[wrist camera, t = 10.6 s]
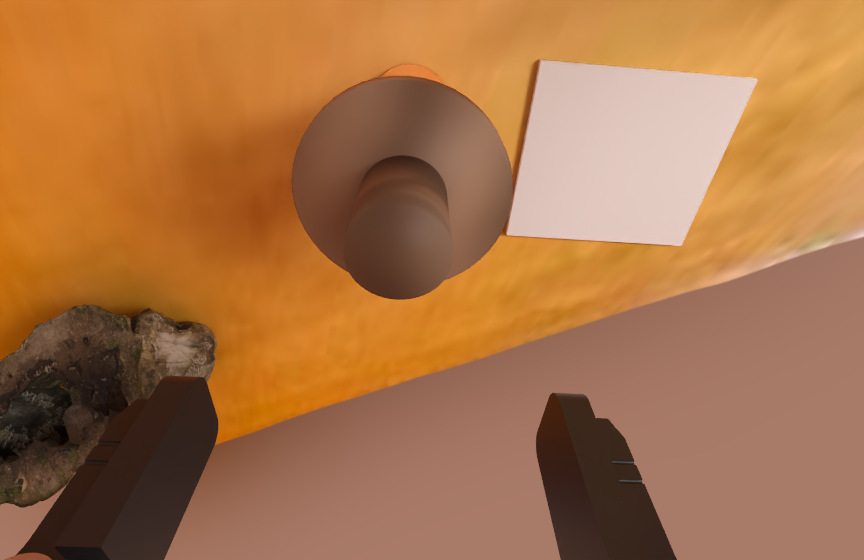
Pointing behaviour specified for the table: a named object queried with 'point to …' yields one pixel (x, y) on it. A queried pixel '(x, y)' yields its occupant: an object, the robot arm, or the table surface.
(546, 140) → the white mat
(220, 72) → the table surface
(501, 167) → the walnut lid
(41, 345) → the hollow geode rock
